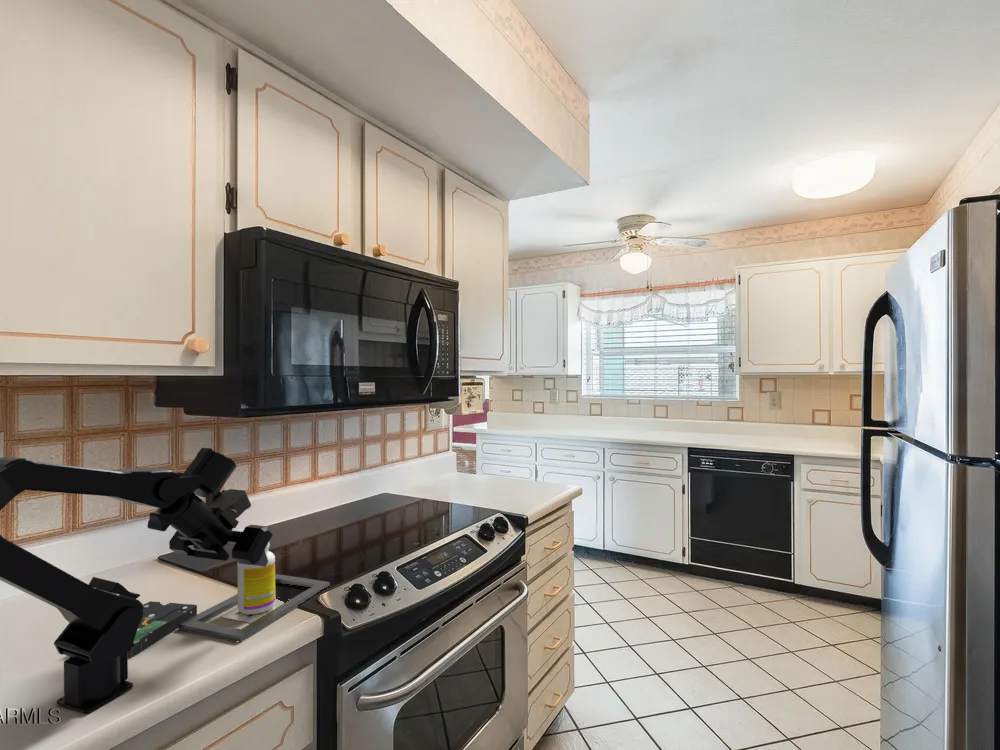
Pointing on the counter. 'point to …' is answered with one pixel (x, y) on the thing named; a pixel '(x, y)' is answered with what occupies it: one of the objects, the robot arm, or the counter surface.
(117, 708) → the counter surface
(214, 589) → the counter surface
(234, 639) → the label panel
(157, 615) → the disk drive
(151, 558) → the counter surface
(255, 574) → the supplement bottle
